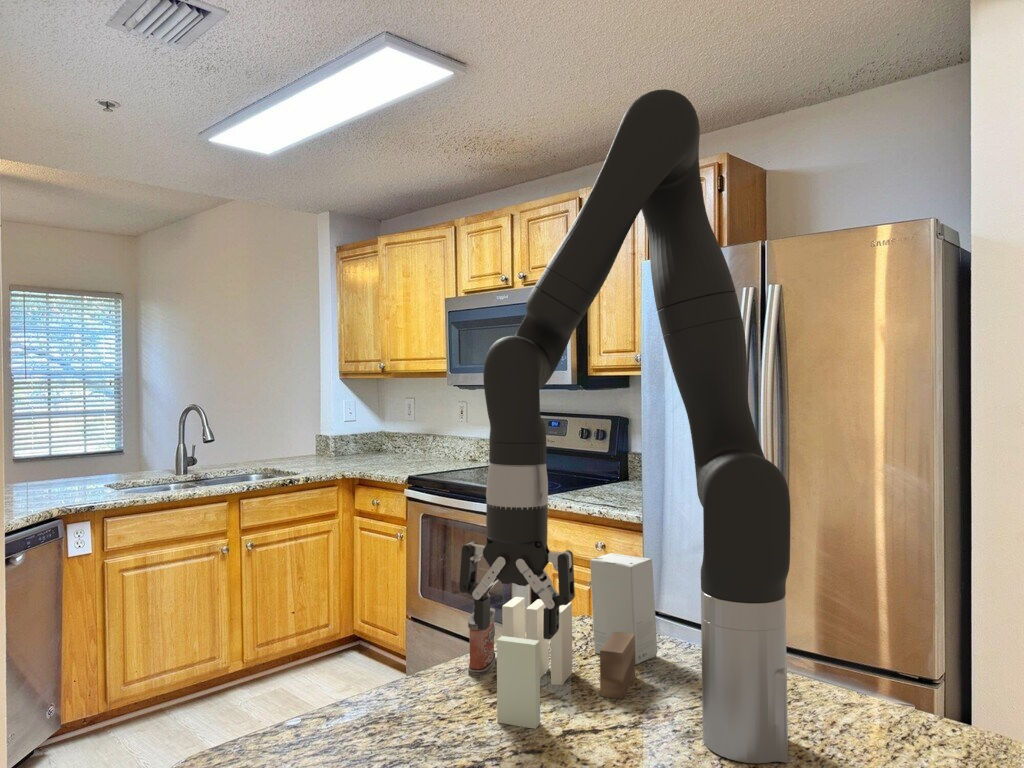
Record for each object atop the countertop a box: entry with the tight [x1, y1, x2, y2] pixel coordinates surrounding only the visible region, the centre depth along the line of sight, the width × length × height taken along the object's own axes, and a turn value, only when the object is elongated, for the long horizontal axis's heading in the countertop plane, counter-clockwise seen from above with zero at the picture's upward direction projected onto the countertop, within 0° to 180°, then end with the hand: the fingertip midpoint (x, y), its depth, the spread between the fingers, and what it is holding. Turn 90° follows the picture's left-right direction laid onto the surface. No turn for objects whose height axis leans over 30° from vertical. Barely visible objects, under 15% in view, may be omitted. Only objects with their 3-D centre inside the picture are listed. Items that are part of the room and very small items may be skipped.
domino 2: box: [496, 635, 541, 730], centre depth 87 cm, size 2×5×10 cm, turn 68°
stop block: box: [599, 632, 636, 700], centre depth 97 cm, size 3×8×6 cm, turn 159°
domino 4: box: [550, 601, 573, 686], centre depth 100 cm, size 2×5×10 cm, turn 158°
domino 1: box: [501, 596, 526, 639], centre depth 103 cm, size 2×5×10 cm, turn 158°
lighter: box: [467, 593, 497, 678], centre depth 105 cm, size 8×3×10 cm, turn 168°
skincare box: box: [589, 552, 658, 665], centre depth 109 cm, size 8×6×15 cm
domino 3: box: [525, 598, 550, 679], centre depth 101 cm, size 2×5×10 cm, turn 158°
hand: (515, 632), depth 87 cm, fingers open, 8 cm apart
